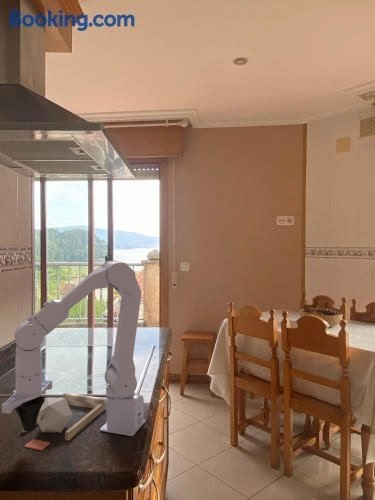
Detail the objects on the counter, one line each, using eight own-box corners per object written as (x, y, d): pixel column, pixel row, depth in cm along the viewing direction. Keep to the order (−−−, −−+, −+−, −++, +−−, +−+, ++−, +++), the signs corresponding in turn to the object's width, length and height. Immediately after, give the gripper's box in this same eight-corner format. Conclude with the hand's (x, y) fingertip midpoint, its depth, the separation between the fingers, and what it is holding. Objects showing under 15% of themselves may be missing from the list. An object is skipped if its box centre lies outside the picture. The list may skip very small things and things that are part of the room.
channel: (105, 408, 105) (105, 398, 105) (68, 440, 88) (68, 428, 88) (65, 402, 109) (65, 392, 109) (22, 431, 92) (22, 420, 92)
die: (36, 427, 96) (24, 409, 90) (62, 402, 101) (53, 384, 95) (54, 446, 91) (43, 429, 86) (80, 420, 97) (72, 402, 91)
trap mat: (50, 443, 86) (50, 442, 86) (41, 450, 84) (41, 449, 84) (33, 440, 88) (33, 439, 88) (24, 446, 85) (24, 445, 85)
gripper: (36, 361, 92) (36, 413, 93) (-10, 382, 78) (-10, 443, 79) (59, 364, 90) (59, 417, 91) (16, 386, 76) (16, 448, 77)
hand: (29, 429), depth 84 cm, fingers closed
